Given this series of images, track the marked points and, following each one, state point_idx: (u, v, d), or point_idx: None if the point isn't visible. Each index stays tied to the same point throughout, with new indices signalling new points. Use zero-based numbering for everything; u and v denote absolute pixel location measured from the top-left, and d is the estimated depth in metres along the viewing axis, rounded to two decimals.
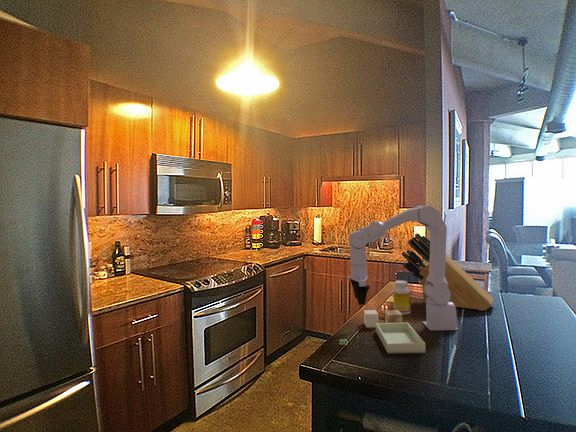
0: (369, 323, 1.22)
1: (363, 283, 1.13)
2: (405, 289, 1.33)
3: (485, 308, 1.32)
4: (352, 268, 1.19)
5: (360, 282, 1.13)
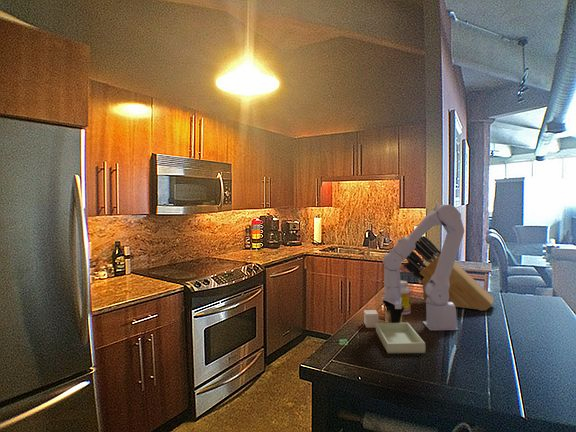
0: (369, 323, 1.22)
1: (399, 306, 1.15)
2: (405, 289, 1.33)
3: (485, 308, 1.32)
4: (386, 290, 1.21)
5: (396, 305, 1.15)
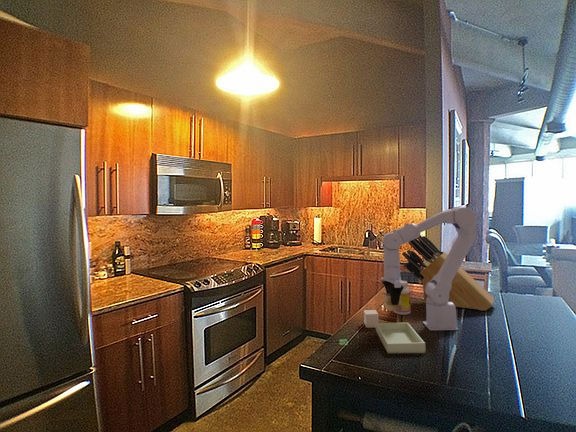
0: (369, 323, 1.22)
1: (398, 284, 1.15)
2: (405, 289, 1.33)
3: (486, 308, 1.32)
4: (386, 269, 1.20)
5: (395, 283, 1.15)
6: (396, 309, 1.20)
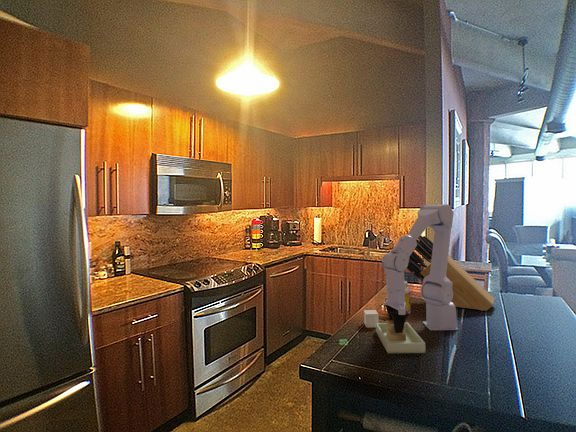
0: (369, 323, 1.22)
1: (403, 311, 1.03)
2: (405, 289, 1.33)
3: (486, 308, 1.32)
4: (389, 293, 1.09)
5: (400, 310, 1.03)
6: (400, 339, 1.08)
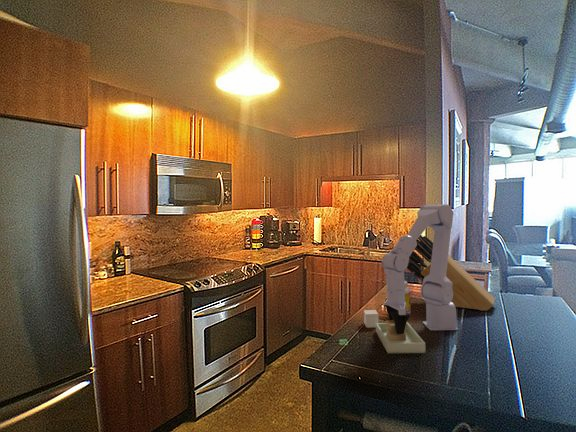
0: (369, 323, 1.22)
1: (403, 311, 1.03)
2: (405, 289, 1.33)
3: (487, 308, 1.32)
4: (389, 293, 1.09)
5: (400, 310, 1.03)
6: (400, 339, 1.08)
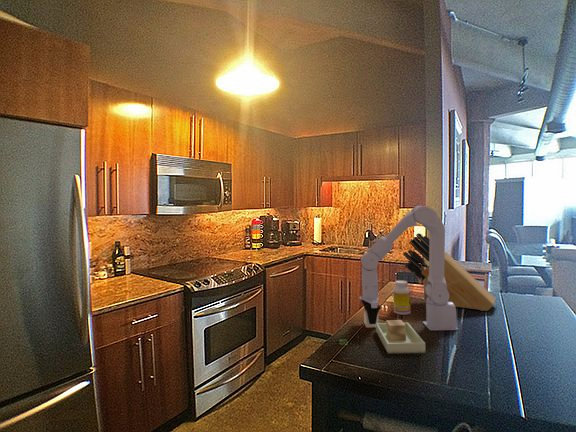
0: None
1: (375, 305, 1.16)
2: (405, 289, 1.33)
3: (487, 308, 1.32)
4: (364, 289, 1.22)
5: (372, 304, 1.16)
6: (400, 339, 1.08)
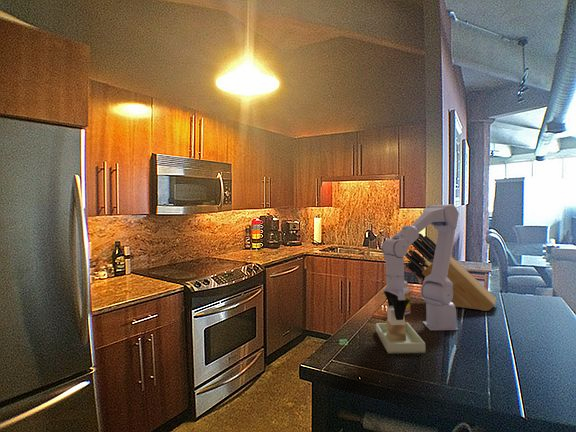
0: (394, 320, 1.08)
1: (403, 297, 1.03)
2: (405, 289, 1.33)
3: (488, 308, 1.32)
4: (388, 279, 1.09)
5: (399, 295, 1.03)
6: (400, 339, 1.08)
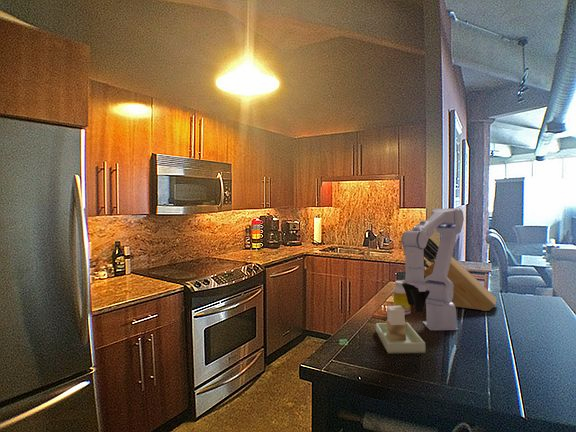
0: (394, 320, 1.08)
1: (423, 288, 1.02)
2: None
3: (488, 308, 1.31)
4: (408, 271, 1.08)
5: (420, 287, 1.02)
6: (400, 339, 1.08)
